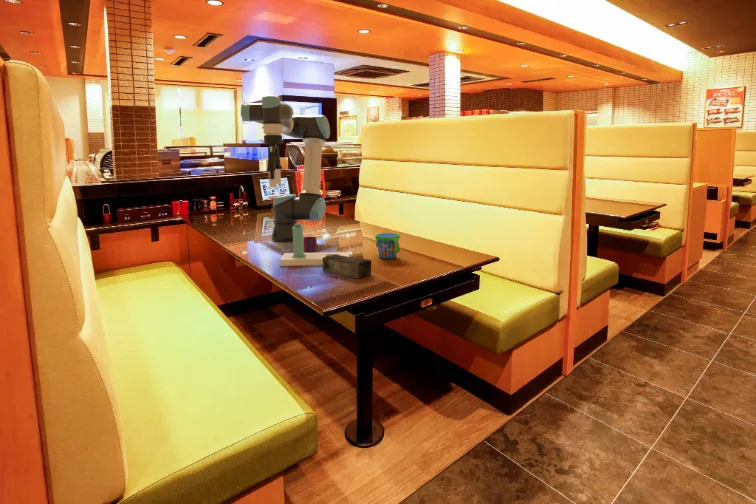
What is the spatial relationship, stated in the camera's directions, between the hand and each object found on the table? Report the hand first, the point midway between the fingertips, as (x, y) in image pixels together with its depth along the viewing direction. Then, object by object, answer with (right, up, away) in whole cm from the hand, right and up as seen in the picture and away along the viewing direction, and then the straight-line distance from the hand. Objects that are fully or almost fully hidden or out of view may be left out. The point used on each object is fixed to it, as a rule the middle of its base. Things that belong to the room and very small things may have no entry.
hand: (275, 185), depth 206 cm
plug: (+11, -33, -3) cm, 35 cm away
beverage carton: (+32, -37, -19) cm, 52 cm away
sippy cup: (+48, -31, +6) cm, 58 cm away
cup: (+11, -29, +17) cm, 35 cm away
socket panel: (+18, -33, -3) cm, 38 cm away
